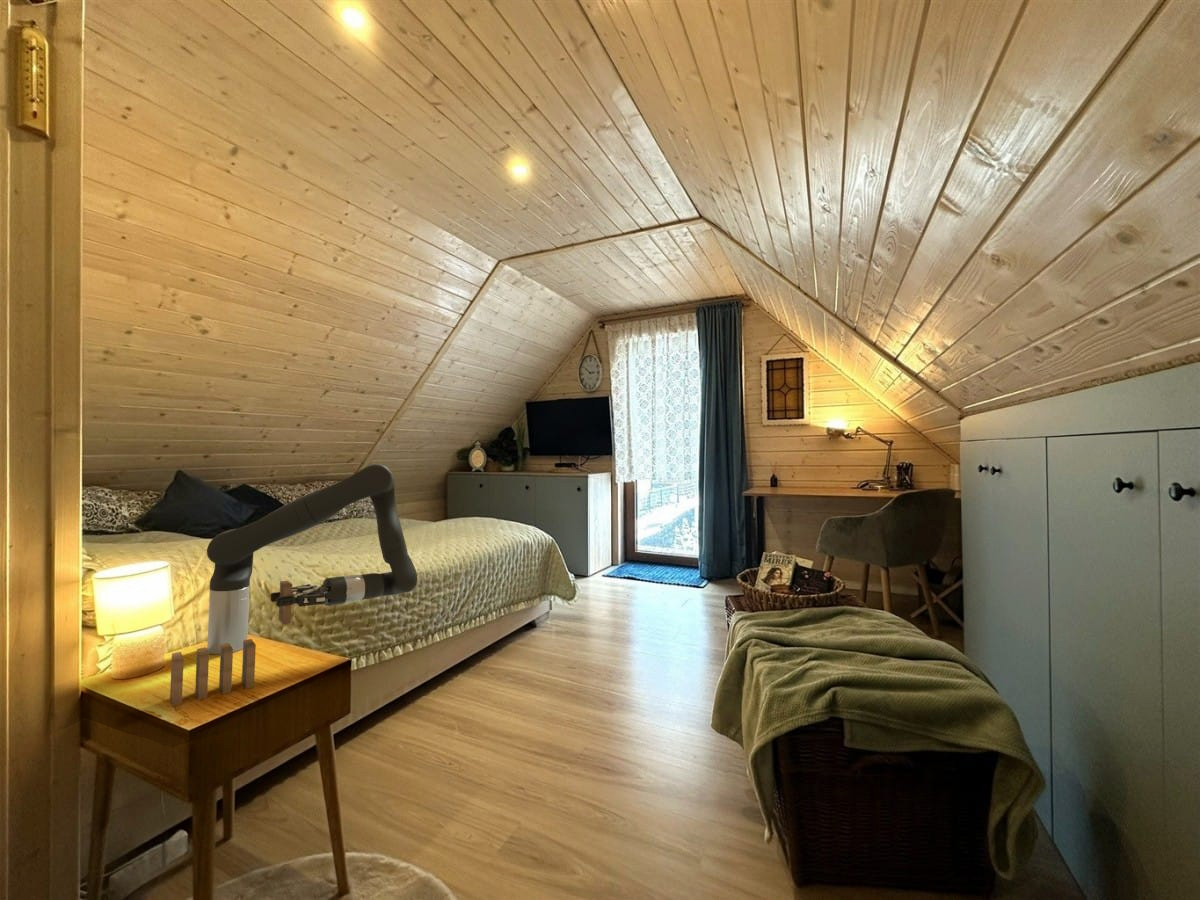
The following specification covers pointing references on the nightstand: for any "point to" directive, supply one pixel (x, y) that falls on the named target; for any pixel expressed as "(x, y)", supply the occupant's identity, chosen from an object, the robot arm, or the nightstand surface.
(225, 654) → the tile
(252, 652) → the tile
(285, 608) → the loose tile
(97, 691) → the nightstand surface
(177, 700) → the tile
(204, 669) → the wooden domino
